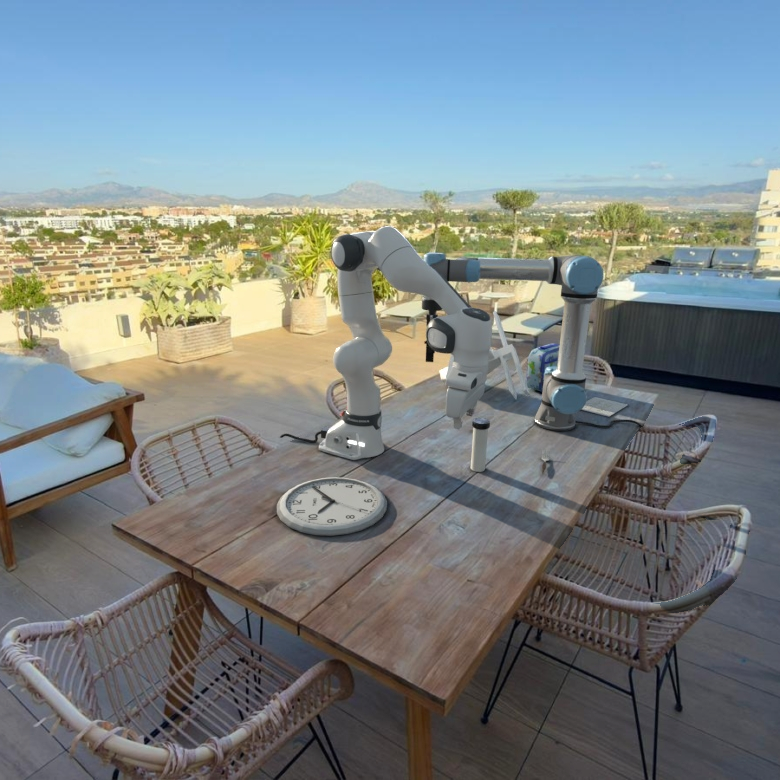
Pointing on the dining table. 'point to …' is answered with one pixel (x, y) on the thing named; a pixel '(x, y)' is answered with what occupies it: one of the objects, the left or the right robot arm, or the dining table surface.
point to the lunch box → (541, 364)
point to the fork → (545, 460)
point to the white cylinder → (479, 449)
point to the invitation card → (603, 406)
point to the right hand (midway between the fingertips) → (430, 357)
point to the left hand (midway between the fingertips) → (464, 421)
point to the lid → (481, 423)
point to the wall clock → (331, 506)
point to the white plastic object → (497, 361)
